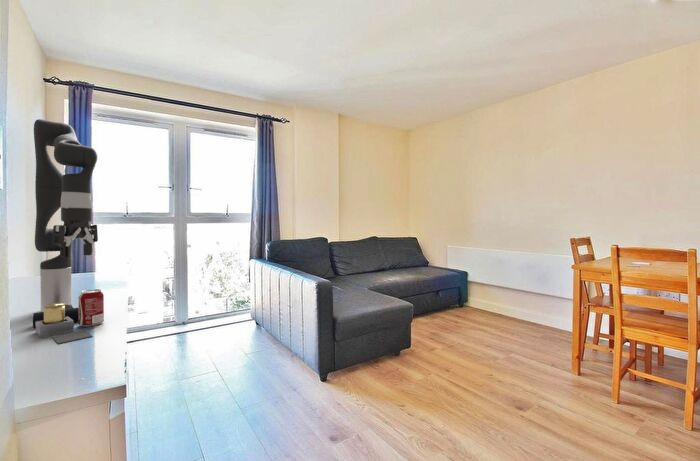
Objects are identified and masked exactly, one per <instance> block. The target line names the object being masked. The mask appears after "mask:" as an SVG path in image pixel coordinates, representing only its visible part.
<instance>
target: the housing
mask: <svg viewBox="0 0 700 461" xmlns="http://www.w3.org/2000/svg"><path fill="white" fill-rule="evenodd" d="M74 323H75V322H74V321H73V320H72V319H71V318H70V317H69V316H66V317H65V321H64V322H59V323H53V324H47V325H44V320H42V321H36V322H35V324H36V328H35V333H36V335H37V336H38V338H40V339H43V338H47V337H53V336H58V335H64V334H69V333H73V332H75V331H74V329H75V328H74V327H75V326H74ZM72 331H73V332H72Z"/></svg>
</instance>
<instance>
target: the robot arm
mask: <svg viewBox="0 0 700 461" xmlns="http://www.w3.org/2000/svg"><path fill="white" fill-rule="evenodd" d="M33 139H34V140H33V142H34V151H35V152H34V153H35V186H34V187H35V188H34V189H35V192H34V193H35V205H36V206H35V207H36V208H35V209H36V210H35V212H36V214H35V216H36V218H35V228H34V230H35V231H34V246H35V249H36V251H38V252H44V253H45V252H46V253H47V252H48V253H49V252H59V254H58V255H56V256H55V257H51V258H50V259H45V260H43V261H41V262H40V265H39V267H40V268H39V274H40V275H39V276H40V312H44V305H47V304H52V303H65V305H66V304H67V305H72V245H73V244H72V242H73V241H75V240H76V239H79V240H81V241H82V243H83V255H84V256H92V254H93V244H94V243H97V242H98V241H99V238H98V237H99V236H98V225H97V224H92V223H90V222H92V221H93V218H92V217H93V214H92V209H93V207H92V205H93V204H92V203H93V202H92V195H91V193H92V192H91V183H92V182H91V181H92V176H93V172H94V170H95V167H96V165H97V162H98V153H97V150H95V149H94V148H93V147H92V146H87V145H82V143H80V142H79V140H78V137H77V134H76V131H75V129H74V128H73V127H72V126H71V125H70V124H68V123H64V122H59V121H54V120H47V119H42V118H41V119H36V120H35V121H34V123H33ZM47 146H48V147H53V148H54V149H53V158H54V160H55V162H56V163H58V164H59V165H61V166H68V167H75V168H82V169H81V171H80V172H76V173H65V174H63V172H62V171H61V170H60V168H58V166H57V165H56V164H55V162H54V161H53V159H52V157H51V156H50V153H49V151H48V147H47ZM59 209H60V220H61V222H63V224H55V225H53V228H47V227H48V224H49V222H50V220H51V219H52V218H53V216H54V215H55V213H56V212H58V211H59ZM89 223H90V224H89Z"/></svg>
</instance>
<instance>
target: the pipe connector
mask: <svg viewBox="0 0 700 461" xmlns="http://www.w3.org/2000/svg"><path fill="white" fill-rule="evenodd" d="M32 315H33V316H32V327H33V329H34V328H35V327H36V324H35V322H36V321H42V320H44V312H41V311H39V312H33V314H32ZM66 316H69V317H70V318H71V319H72V320H73V321H74V323H77V322H79V307H73V304H71V305H67V304H66V305H65V317H66ZM35 329H36V328H35Z"/></svg>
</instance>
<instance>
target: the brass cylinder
mask: <svg viewBox="0 0 700 461" xmlns="http://www.w3.org/2000/svg"><path fill="white" fill-rule="evenodd" d="M64 321H65V303H52V304H47V305H44V325H47V324H53V323H59V322H64Z"/></svg>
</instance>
